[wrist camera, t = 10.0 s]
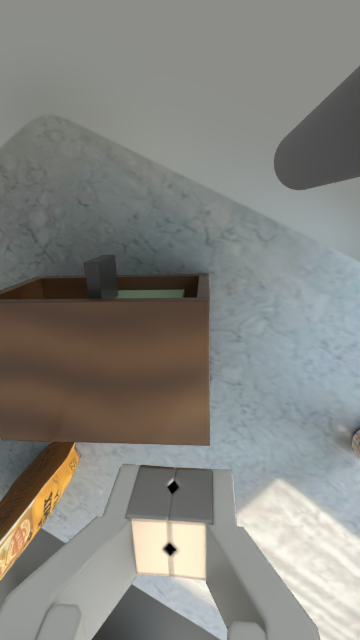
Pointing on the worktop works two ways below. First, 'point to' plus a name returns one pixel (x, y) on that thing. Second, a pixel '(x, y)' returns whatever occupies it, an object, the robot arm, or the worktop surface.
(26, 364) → the brown wooden box
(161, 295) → the sliding door
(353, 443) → the beer can
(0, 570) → the pancake mix bag
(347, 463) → the worktop surface
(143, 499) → the robot arm
